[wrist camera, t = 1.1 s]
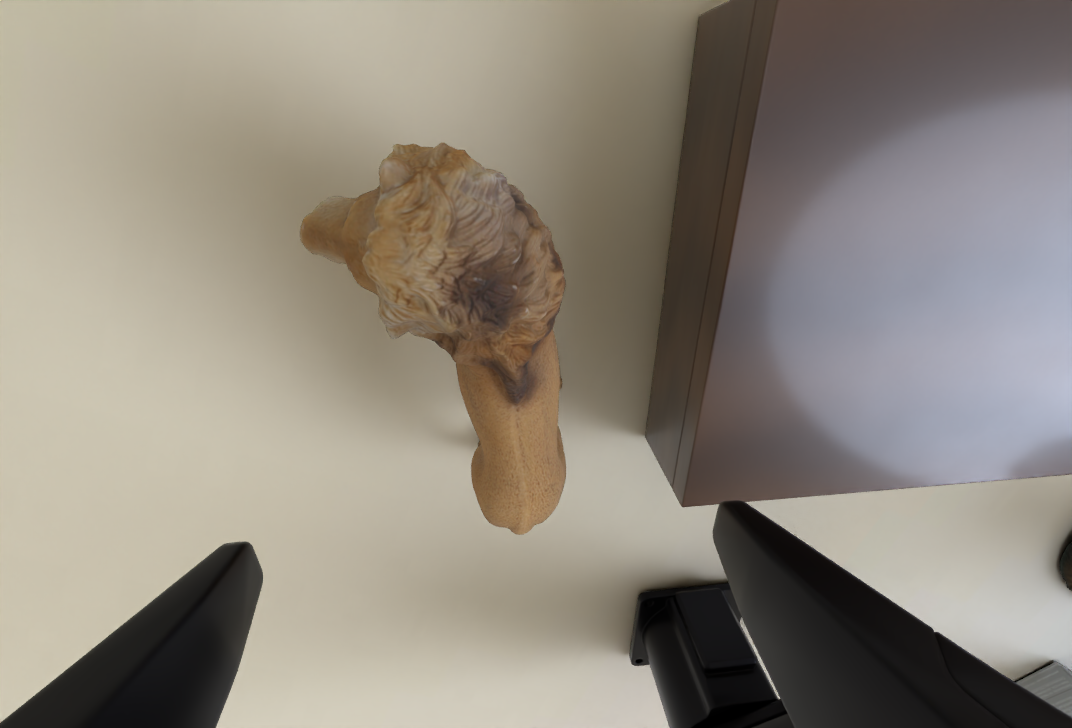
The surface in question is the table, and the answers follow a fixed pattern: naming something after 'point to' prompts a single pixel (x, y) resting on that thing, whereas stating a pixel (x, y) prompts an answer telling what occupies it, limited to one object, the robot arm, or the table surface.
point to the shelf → (869, 251)
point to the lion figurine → (467, 307)
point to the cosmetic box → (1051, 686)
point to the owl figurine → (1067, 566)
